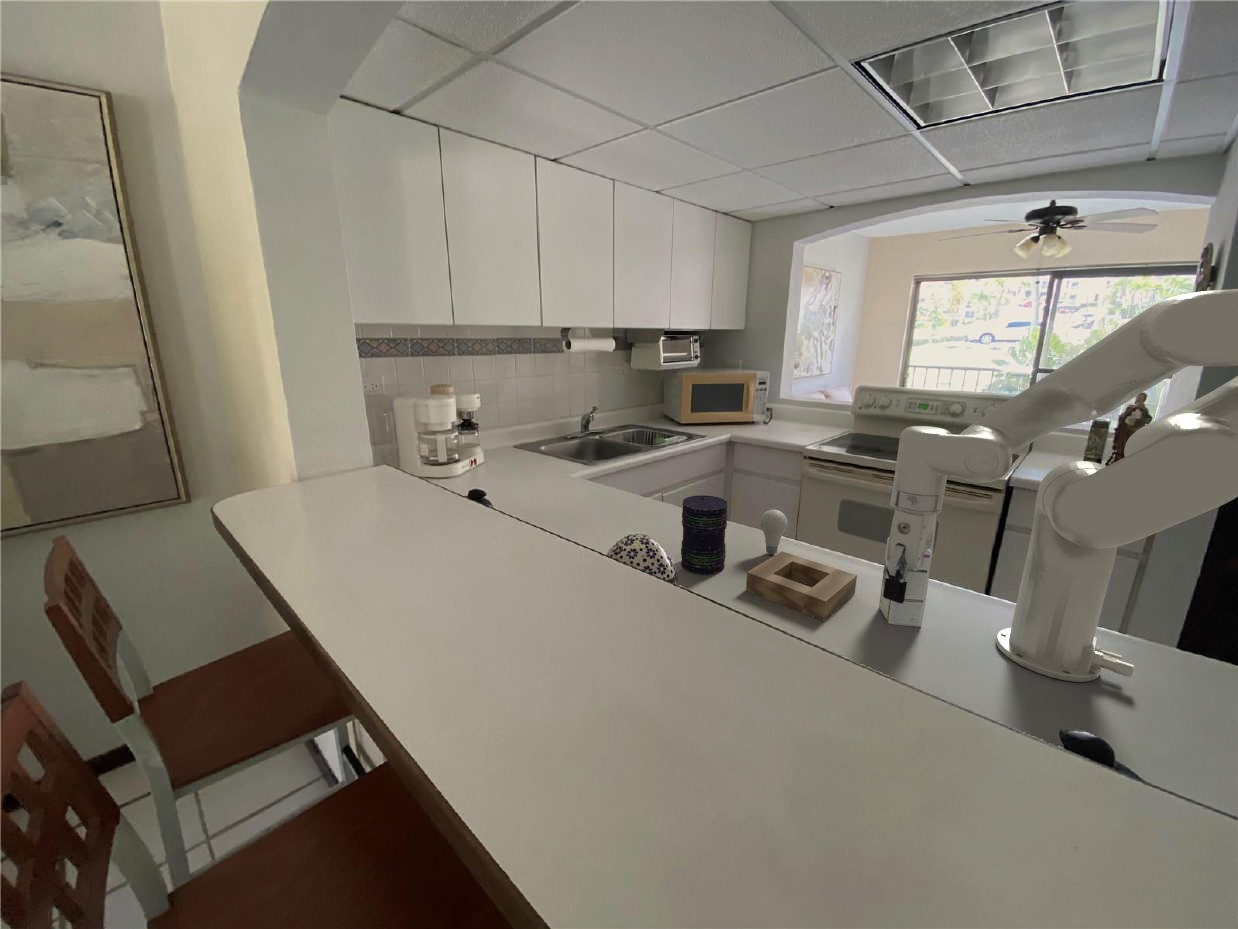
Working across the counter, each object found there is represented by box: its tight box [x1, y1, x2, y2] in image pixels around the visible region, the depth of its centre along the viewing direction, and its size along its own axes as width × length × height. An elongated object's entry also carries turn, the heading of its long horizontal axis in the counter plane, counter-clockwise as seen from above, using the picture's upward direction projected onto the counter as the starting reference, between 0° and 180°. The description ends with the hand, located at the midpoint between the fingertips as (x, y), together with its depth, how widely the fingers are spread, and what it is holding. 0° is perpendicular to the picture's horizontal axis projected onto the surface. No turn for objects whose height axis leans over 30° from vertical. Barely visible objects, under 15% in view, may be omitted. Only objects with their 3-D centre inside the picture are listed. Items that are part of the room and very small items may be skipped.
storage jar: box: [680, 495, 728, 576], centre depth 109 cm, size 10×10×15 cm
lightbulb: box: [759, 509, 789, 556], centre depth 114 cm, size 6×6×11 cm
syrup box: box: [878, 536, 933, 628], centre depth 88 cm, size 6×6×14 cm
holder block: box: [745, 551, 858, 621], centre depth 98 cm, size 16×14×4 cm
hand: (902, 590), depth 88 cm, fingers open, 8 cm apart
